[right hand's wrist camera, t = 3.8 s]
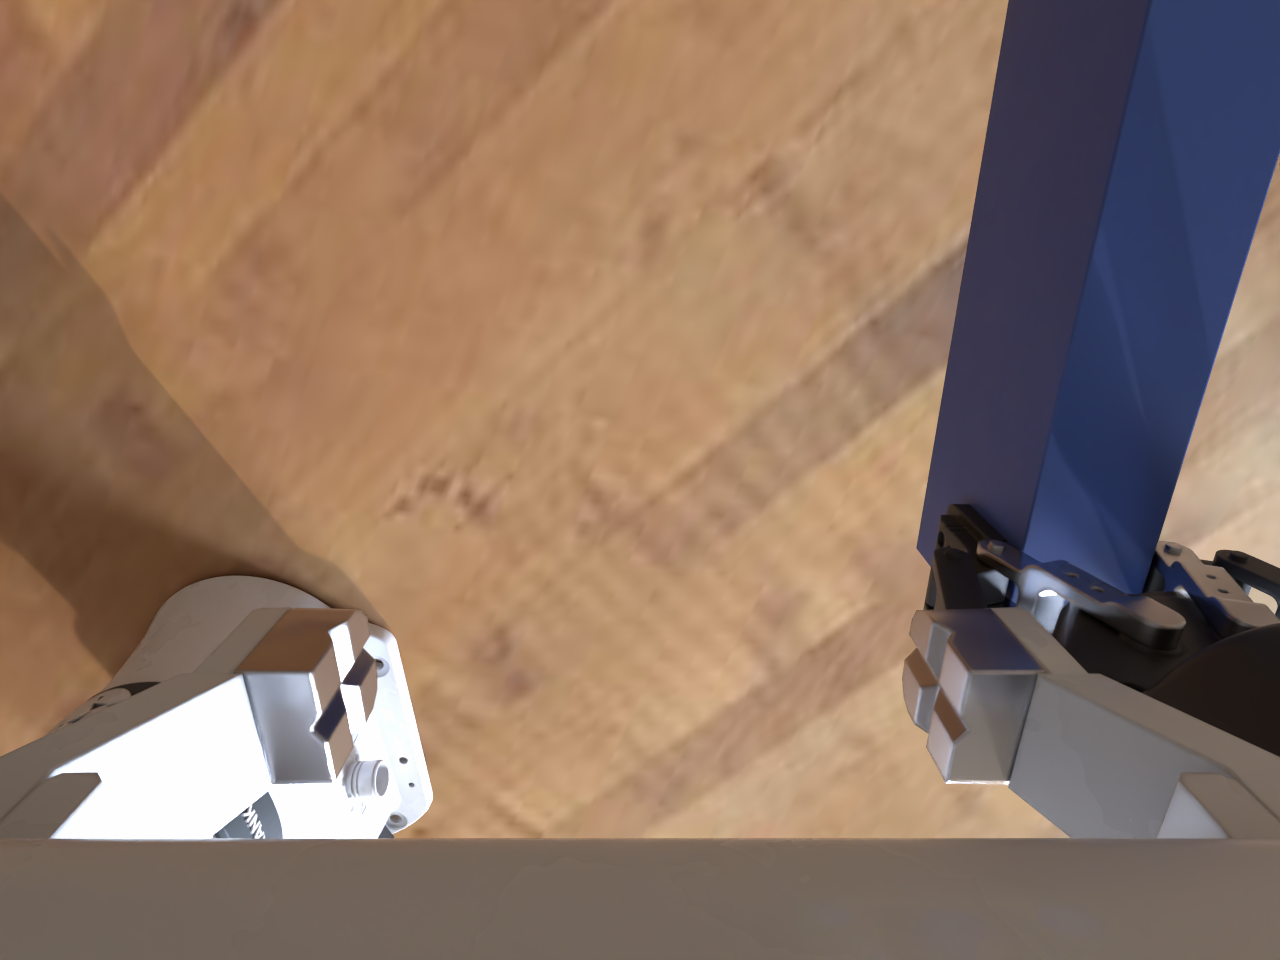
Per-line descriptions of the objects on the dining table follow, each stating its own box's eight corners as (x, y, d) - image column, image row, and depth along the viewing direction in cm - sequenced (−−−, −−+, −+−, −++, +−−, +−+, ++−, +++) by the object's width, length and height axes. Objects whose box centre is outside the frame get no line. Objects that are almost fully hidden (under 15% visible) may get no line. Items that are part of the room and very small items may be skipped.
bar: (1029, -128, 24) (1218, -294, 16) (1164, -129, 24) (1421, -296, 16) (915, 548, 34) (997, 655, 26) (1011, 549, 34) (1122, 657, 26)
